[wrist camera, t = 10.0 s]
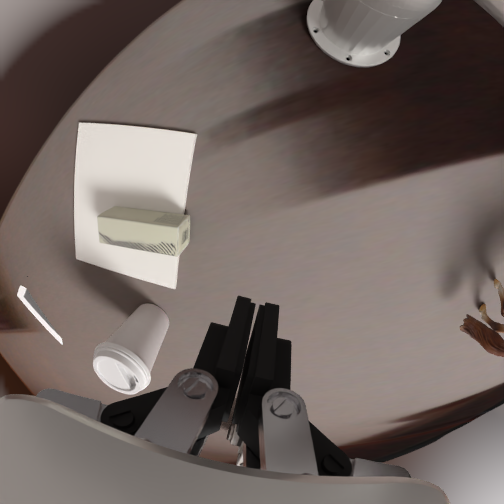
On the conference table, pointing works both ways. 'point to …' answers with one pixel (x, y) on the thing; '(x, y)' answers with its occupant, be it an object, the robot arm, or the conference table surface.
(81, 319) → the conference table surface
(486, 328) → the horse figurine
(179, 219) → the box
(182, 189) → the mat
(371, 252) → the conference table surface
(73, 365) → the conference table surface
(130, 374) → the coffee cup
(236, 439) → the camera
